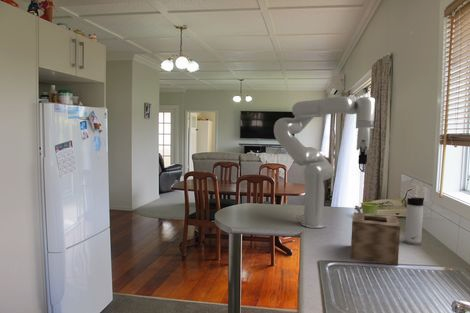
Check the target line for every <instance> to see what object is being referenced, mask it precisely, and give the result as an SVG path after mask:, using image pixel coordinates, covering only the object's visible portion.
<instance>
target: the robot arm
mask: <svg viewBox="0 0 470 313" xmlns="http://www.w3.org/2000/svg"><path fill="white" fill-rule="evenodd" d="M375 107H376V99H375V98H374V97H371V96H362V97H359V98H354V97H350V96H333V97H326V98H321V99H312V100H311V99H310V100H303V101H302V100H301V101H297V102H295V103H294V104H293V105H292V109H291V113H292V115H293V116H294V117H293V118H292V117H282V118H278V120H276V121H275V123H274V125H273V134H274V138H275V139H276V141H277V143H279V145H280V146H281V147H282V148H283V150H285V151H286V153H287V154H288V156H290V157H291V159H292V160H293V161H294V162H295V164H297V165H298V166H302V167H303V166H305V167H304V170H303V178H304V179H303V180H304V206H303V207H304V211H303V215H297V214H296V215H295V220H297V221H298V220H299V221H300V225H301V226H302V225H303V227H305V226H306V228H309V229H323V228H326V227H327V223H326V222H324V215H325V214H324V211H325V184H324V181H326V180H329V179H331V177H333V174H334V168H333V166H332V165H331V163H330V162H329V160H327V158H325V156H323V154H322V153H321V152H320V151H319V150H318V149H316V148H315V147H312V146H305V145H304V144H303V143H302V142H300V140H299V139H298V138H297V137H296V136H294V135H298V134H299V133H301V132H302V131H303V130H304V129H305V128H306V127H307V126H308V124H310V123H311V121H312V120H313V119H314V118H323V117H325V115H336V114H344V115H355V114H356V116H355V117H356V120H355V129H357V135H356V136H357V137H356V150H357V151H359V152H358V154H359V155H358V161H357V162H358V165H366V164H367V162H368V152H367V151H369V149H370V144H371V143H370V141H371V129H374V128H375V113H376V112H375Z"/></svg>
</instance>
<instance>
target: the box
mask: <svg viewBox="0 0 470 313" xmlns="http://www.w3.org/2000/svg"><path fill="white" fill-rule="evenodd" d="M400 229H401V226H400V222H399V218H398V216H396V215H395V216H393V215H385V214H377V213H376V214H366V213H363V212H354V213H353V217H352V222H351V238H350V239H351V244H350V259H353V260H360V261H365V262H366V261H367V262H374V263H380V264H388V265H393V266H399V253H400V252H399V250H400V235H401V230H400Z"/></svg>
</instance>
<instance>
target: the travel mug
mask: <svg viewBox="0 0 470 313" xmlns="http://www.w3.org/2000/svg"><path fill="white" fill-rule="evenodd" d="M424 201H425V198H424V197H407V201H406V214H405V230H404V231H405V232H404V234H405V235H404V243H406V244H409V245H414V246H415V245H416V246H419V245H421V244H422V236H423V234H422V232H423V218H424V217H423V216H424Z"/></svg>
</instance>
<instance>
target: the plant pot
mask: <svg viewBox="0 0 470 313" xmlns="http://www.w3.org/2000/svg"><path fill="white" fill-rule="evenodd" d="M360 206H361V209H362V213H366V214H376V215H377V212H378V208H379V206H380V203H377V202H371V201H363V202H360Z"/></svg>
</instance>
